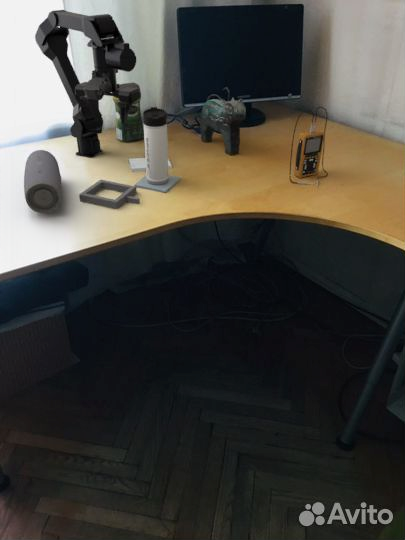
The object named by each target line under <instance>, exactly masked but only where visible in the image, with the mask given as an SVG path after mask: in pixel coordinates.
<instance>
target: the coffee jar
mask: <svg viewBox="0 0 405 540" xmlns="http://www.w3.org/2000/svg"><path fill="white" fill-rule="evenodd" d="M118 84H119V88H117V90H122V89H124V88H127V87H130V88H138V90H139V91H140V99H138V100H137V101H136V102H134V103H133V104H132V106H131V109H130V111H129V114H128V117H127V120H126V123H125V124H124V125H123V124H122V119H121V107H120V105H119V104H118V103H119V102H121V101H120V100H119V99H118V97H115V96H111V98H112V101H113V102H114V106H115V107H114V109H115V136H116V139H117V140H118V141H119V142H125V143H130V142H134V141H139V140H142V139H144V123H143V119H142V112H141V99H142V93H141V88H140V85H139V84H138V83H136V82H128V83H127V82H125V83H121V84H120V83H118ZM111 93H113V92H111Z"/></svg>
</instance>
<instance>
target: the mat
mask: <svg viewBox="0 0 405 540" xmlns="http://www.w3.org/2000/svg"><path fill="white" fill-rule="evenodd" d="M168 179H169V180H168V182H167V183H165V184H163V185H152V184H150V183H148V182H147V174H146V175H145V176H143V177H142V178H141V179H139V180H138V181H137V182H136V183H134V184H133V186H135V187H136V188H139V189H143V190H148V191H149V190H150V191H153V192H158V193H159V192H160V193H165V194H167V192H169V191H170V190H171V189H172V188H173V187H174V186H175V185H176V184H178V183H179V182H180V180H181V179H182V178H181V177H180V176H174V175H169V174H168Z"/></svg>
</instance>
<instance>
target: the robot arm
mask: <svg viewBox="0 0 405 540" xmlns="http://www.w3.org/2000/svg"><path fill="white" fill-rule="evenodd" d="M70 30H72V31H77V32H81V33H83V35H84V36H85V37H86V38H88V39H90V40H89V41H88V42H87V43H86V45H87V47H89V48H91V51H92V58H93V67H94V70H92V71H91V79H89V80H88V81H84V82H80V80H79V77H78V75H77V73H76V71H75V69H74V67H73V64H72V62H71V59H70V58H69V56H68V51H69V43H68V40H67V39H68V37H69V35H70ZM34 38H35V42H36V45H37V46H38V47H39V50H40V51H41V53H42V54H43V55H44V56H45V57H46V58H48V59H49V60H50V61H51V62H52V64H53V66H54V68H55V70H56V73H57V75H58V77H59V79H60V81H61V83H62V85H63V87H64V90H65V93H66V94H67V97H68V99H69V101H70V103H71V105H72V120H73V123H72V125H71V127H70V129H69V131H70V135H71V137H73V138H76V144H77V149H78V151H77V152H75V155H76V156H80V157H81V156H82V157H88V158H94V157H95V156H97V155H100V154H101V153H102V152H103V149H101V142H100V141H101V140H100V139H99V134H102V133H103V127H104V119H103V114H102V113H101V112H100V111H101V110H100V108H99V107H100V101H101V100H103V98H104V96H108V97H112V96H115V97H118V99H119V100H120V101H121V102H119V103H118V104H119V105H120V107H121V119H122V124H123V125H124V124H125V123H126V120H127V117H128V114H129V111H130V109H131V106H132V104H133V103H134V102H136V101H137V100H138V99H140V91H141V90H140V91H139V90H138V88H130V87H127V88H124V89H122V90H117V88H119V84H120V83H117V74H118V73H119V71H121V72H122V71H123V72H127V73H129V72H132V71H133V70H134V68H135V67H136V65H137V55H136V53H135V51H134V50H133V49H132V48H131V47H130V43H129V42H125V39H124V38H123V35H122V33H121V32H120V30H119V28H118V26H117V24H116V22H115V20H114V18H113V15H111V14H109V13H104V14H103V13H102V14H95V15H88V14H82V13H76V12H71V11H68V10H65V9H59V10H51V11H49V13H48V15H47V18H45V19H44V20H43V21H42V22H41V23H40V24H39V25H38V28H37V30H36V32H35V36H34ZM112 92H113V93H112Z"/></svg>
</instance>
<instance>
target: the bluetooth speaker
mask: <svg viewBox="0 0 405 540" xmlns="http://www.w3.org/2000/svg"><path fill="white" fill-rule="evenodd" d="M60 172H61V171H60V167H59V164H58V160H57V159H56V157H55V155H53V154H52V153H51V152H49V151H48V150H45V149H38V150H37V149H36V150H34V151H32V152H30V154H29V155H28V157H27V159H26V162H25V166H24V175H23V189H24V198H25V199H24V200H25V202H26V205H27V206H28V208H30V210H32V211H33V212H34V213H38V214H50V213H52V212H55V211H56V210H57V209H58V208H59V206H60V204H61V202H62V201H61V200H62V176H61V173H60Z"/></svg>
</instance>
